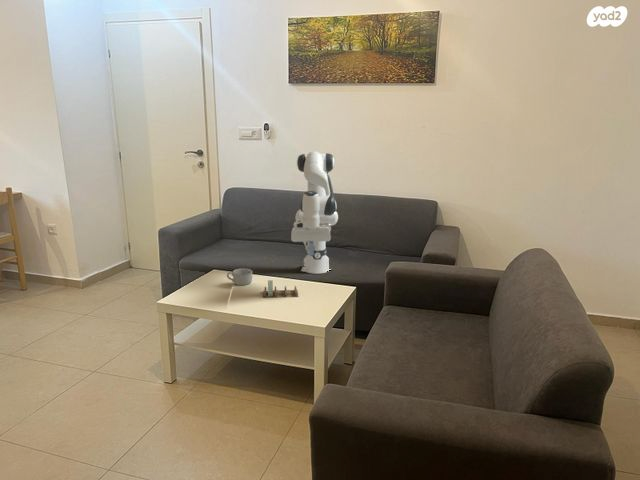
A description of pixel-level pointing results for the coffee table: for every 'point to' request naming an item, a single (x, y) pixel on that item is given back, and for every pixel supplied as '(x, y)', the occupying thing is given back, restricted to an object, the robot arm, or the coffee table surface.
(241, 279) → the teacup
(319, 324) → the coffee table surface
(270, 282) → the sage plate
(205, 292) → the coffee table surface
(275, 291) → the rack
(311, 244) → the blue plate
